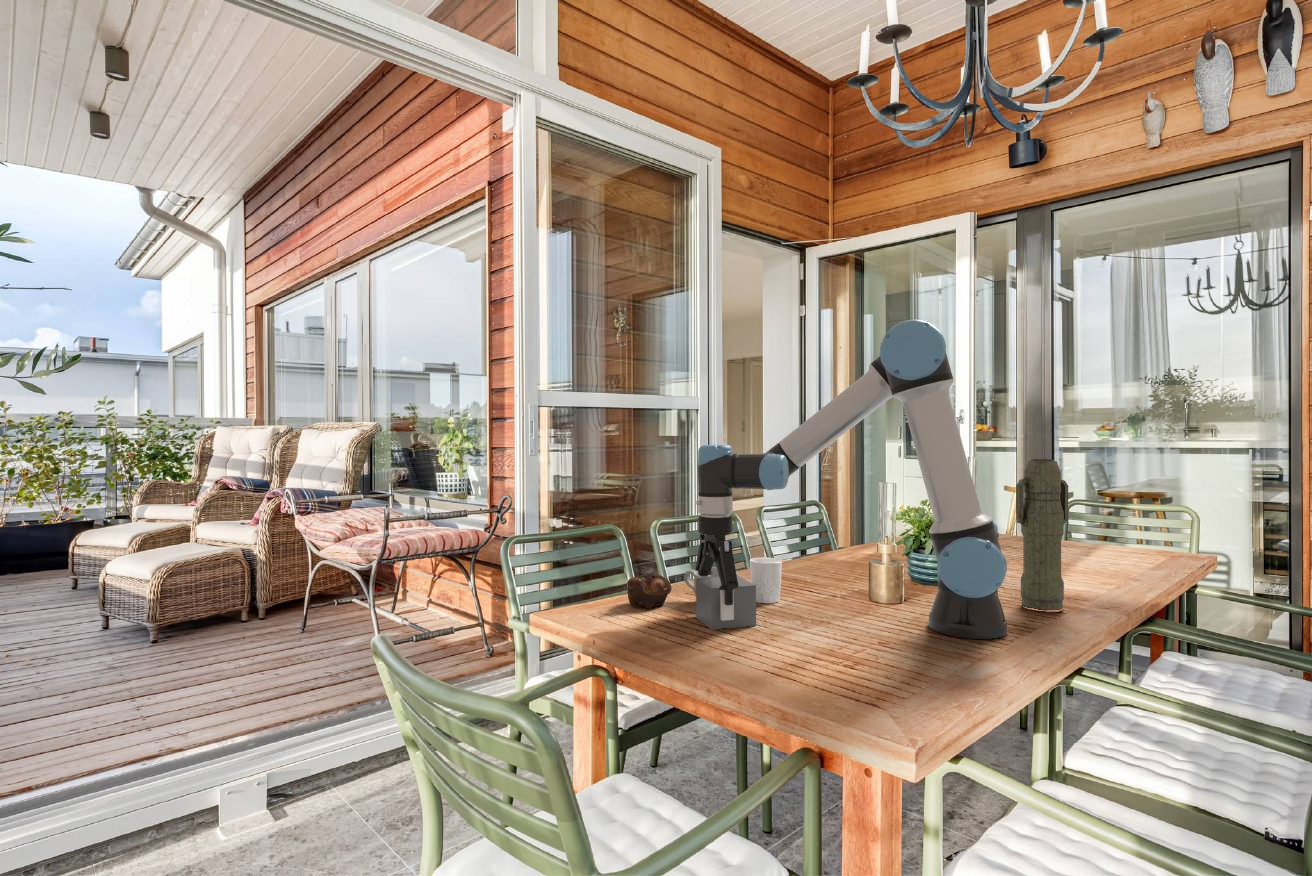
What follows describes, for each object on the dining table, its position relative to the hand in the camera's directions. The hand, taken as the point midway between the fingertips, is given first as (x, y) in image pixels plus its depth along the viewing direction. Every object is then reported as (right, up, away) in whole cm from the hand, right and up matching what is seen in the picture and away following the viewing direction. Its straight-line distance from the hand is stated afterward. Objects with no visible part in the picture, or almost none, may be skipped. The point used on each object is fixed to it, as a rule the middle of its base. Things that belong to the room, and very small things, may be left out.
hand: (715, 612), depth 156 cm
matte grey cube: (+2, -2, +1) cm, 3 cm away
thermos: (+78, -2, +11) cm, 79 cm away
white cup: (+14, -2, +20) cm, 25 cm away
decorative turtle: (-15, -3, +16) cm, 22 cm away
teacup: (0, -2, +18) cm, 18 cm away
